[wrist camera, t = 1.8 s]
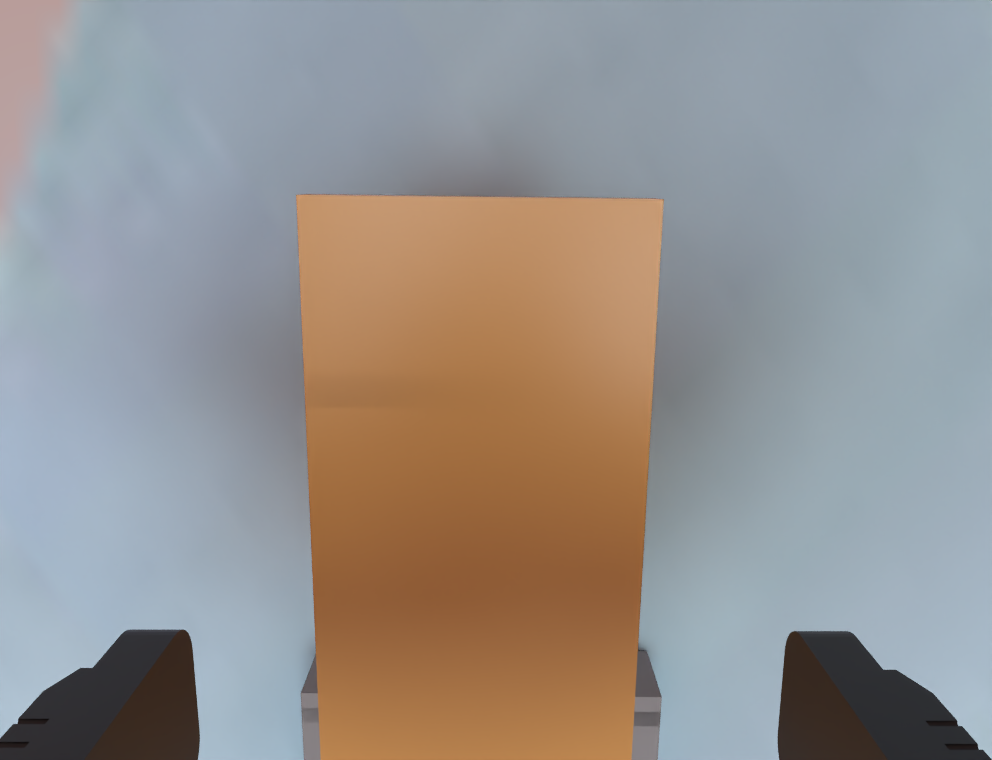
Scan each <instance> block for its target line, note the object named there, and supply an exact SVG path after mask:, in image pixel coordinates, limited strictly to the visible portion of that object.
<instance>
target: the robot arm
mask: <svg viewBox="0 0 992 760" xmlns="http://www.w3.org/2000/svg"><path fill="white" fill-rule="evenodd" d="M199 742H200V734H199V720H198V709H197V697H196V685H195V673H194V661H193V650H192V643H191V639H190V636H189V634H188V632H187V631H185V630H127V631H125V632H124V633H123V634H121V636H120V637H119V638H118V639H117V640H116V641H115V643H114V644H113V645H112V646H111V647H110V648H109V650H108V651H107V652H106V653H105V654H104V655H103V657H102V658H101V659H100V660H99V661H98V662H97V664H96V665H95V666H94V667H93V668H80V669H78V670H77V671H75V672H74V673H72V674H70V675H69V676H67V677H66V678H64V679H62V680H61V681H59V682H58V683H56V684H54V685H53V686H51V687H50V688H48V689H46V690H45V691H43V692H42V693H41V694H40V696H39V697H38V698H37V699H36V700H35V701H34V702H33V703H32V704H31V705H30V707H29V708H28V709H27V710H26V711H25V712H24V713H23V714H22V715H21V716H20V717H19V719H18V724H13V725H12V726H11V727H10V728H9V730H8V731H7V732H6V733H5V734H4V735H3V736H2V737H1V738H0V760H198V753H199ZM778 752H779V760H991V758H990V757H989V756H988V755H987V754H986V753H985V752H984V751H983V750H979V749H978V744H977V743H976V742H975V740H974V739H973V738H972V737H971V736H970V735H969V734H968V732H967V731H966V730H965V729H964V728H963V727H962V726H958V725H957V720H956V719H955V718H954V717H953V716H952V714H951V713H950V712H949V711H948V710H947V709H946V708H945V707H944V705H943V704H942V703H941V702H940V701H939V700H938V699H937V697H936V696H935V695H934V694H933V693H932V692H930V691H928V690H927V689H925V688H924V687H922V686H921V685H919V684H917V683H916V682H914V681H913V680H911V679H910V678H908V677H906V676H905V675H903V674H902V673H900V672H899V671H897V670H883V669H882V668H881V667H880V665H879V664H878V663H877V662H876V661H875V659H874V658H873V657H872V656H871V654H870V653H869V652H868V651H867V650H866V648H865V647H864V646H863V645H862V644H861V642H860V641H859V640H858V639H857V637H856V636H855V635H854V634H853V633H851V632H848V631H794V632H791V633H790V635H789V636H788V639H787V642H786V646H785V656H784V668H783V679H782V691H781V703H780V715H779V727H778Z"/></svg>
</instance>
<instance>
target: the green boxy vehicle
mask: <svg viewBox="0 0 992 760" xmlns="http://www.w3.org/2000/svg"><path fill="white" fill-rule="evenodd" d="M661 698H662V697H661V694H660V691H659V688H658V684H657V681H656V678H655V675H654V672H653V669H652V666H651V663H650V659H649V656H648V653H647V651H638V655H637V672H636V690H635V707H634V725H633V742H632V759H631V760H657V759H658V743H659V728H660V713H661ZM301 706H302V727H303V747H304V760H321V758H320V735H319V711H318V688H317V665H316V655H315V658H314V660H313V663H312V665H311V668H310V671H309V673H308V676H307V678H306V681H305V684H304V686H303V689H302V691H301Z"/></svg>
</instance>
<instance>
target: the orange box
mask: <svg viewBox="0 0 992 760" xmlns="http://www.w3.org/2000/svg"><path fill="white" fill-rule="evenodd" d="M296 201H297V224H298V247H299V270H300V294H301V317H302V340H303V363H304V386H305V410H306V433H307V456H308V479H309V503H310V526H311V549H312V572H313V595H314V619H315V642H316V665H317V688H318V711H319V735H320V758H321V760H631V759H632V742H633V725H634V707H635V690H636V672H637V655H638V638H639V620H640V603H641V586H642V568H643V551H644V533H645V516H646V499H647V481H648V464H649V447H650V429H651V412H652V395H653V377H654V360H655V342H656V325H657V308H658V290H659V273H660V256H661V238H662V221H663V203H664V199H656V198H594V197H512V196H429V195H347V194H302V195H296Z"/></svg>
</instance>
